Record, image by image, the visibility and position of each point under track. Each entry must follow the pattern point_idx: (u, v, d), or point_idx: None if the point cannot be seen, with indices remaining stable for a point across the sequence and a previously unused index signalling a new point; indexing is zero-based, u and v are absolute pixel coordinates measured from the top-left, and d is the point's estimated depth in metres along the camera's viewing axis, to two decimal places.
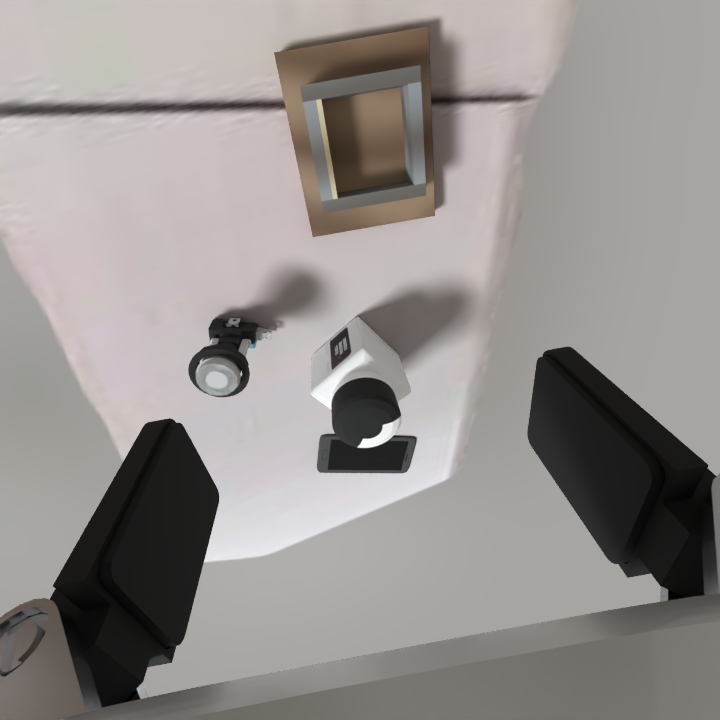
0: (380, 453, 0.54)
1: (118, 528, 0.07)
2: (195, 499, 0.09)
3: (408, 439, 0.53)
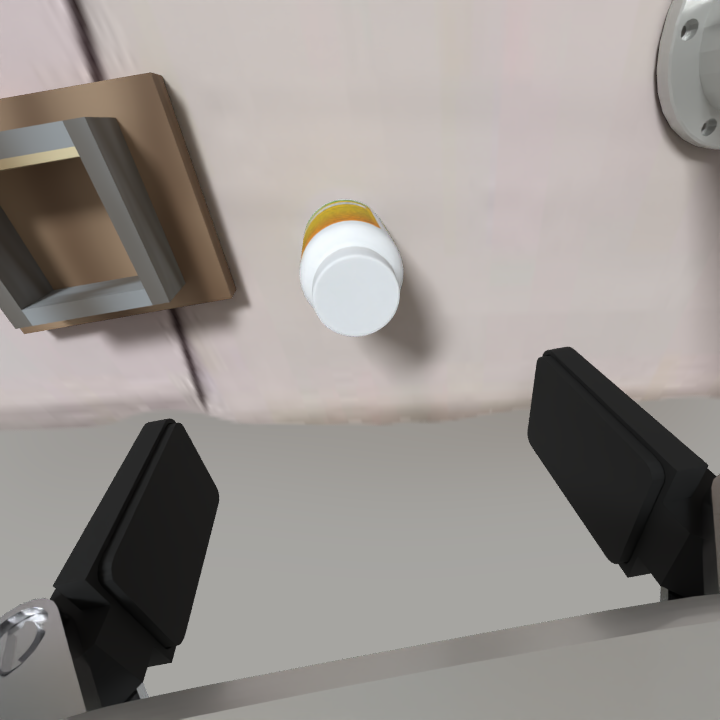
0: None
1: (118, 528, 0.07)
2: (195, 499, 0.09)
3: None
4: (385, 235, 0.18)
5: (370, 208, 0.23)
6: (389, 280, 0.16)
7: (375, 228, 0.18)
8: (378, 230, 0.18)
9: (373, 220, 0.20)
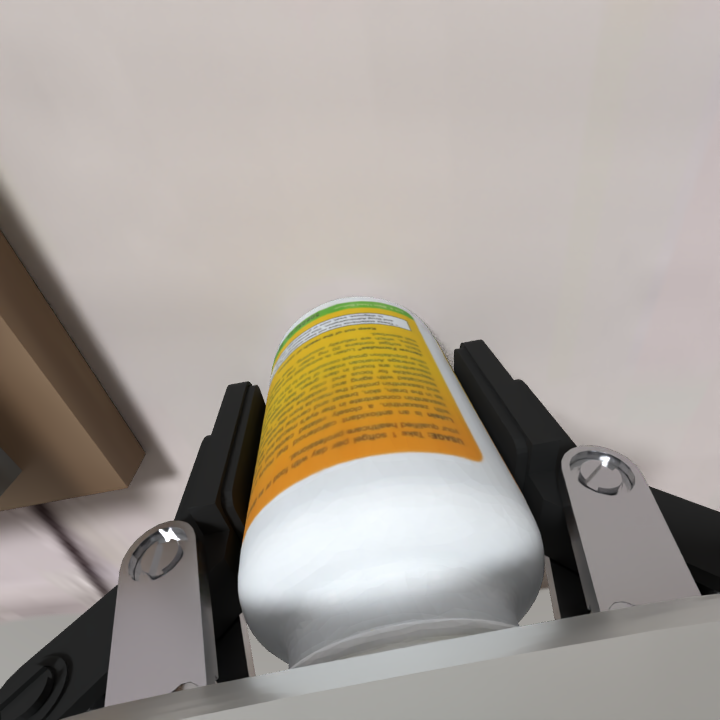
0: None
1: (229, 466, 0.07)
2: None
3: None
4: (507, 498, 0.06)
5: (413, 314, 0.11)
6: None
7: (478, 483, 0.05)
8: (487, 489, 0.05)
9: (447, 403, 0.07)
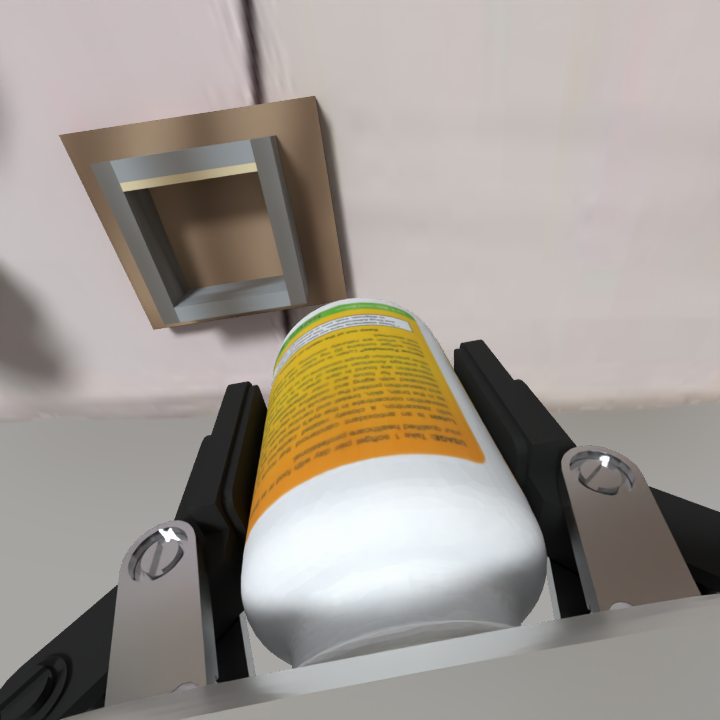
0: None
1: (229, 466, 0.07)
2: None
3: None
4: (510, 500, 0.06)
5: (415, 316, 0.11)
6: None
7: (481, 485, 0.05)
8: (490, 491, 0.05)
9: (450, 404, 0.07)
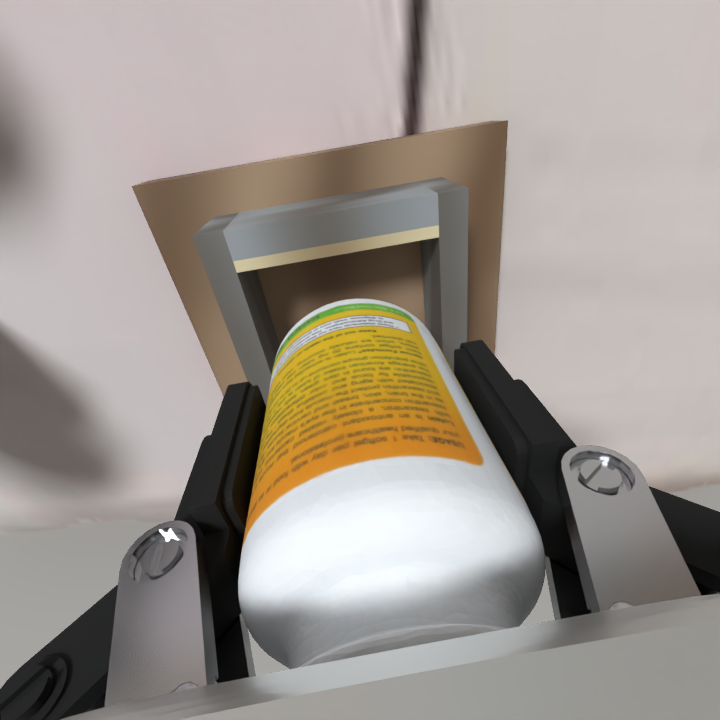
0: None
1: (229, 466, 0.07)
2: None
3: None
4: (508, 502, 0.06)
5: (413, 316, 0.11)
6: None
7: (478, 487, 0.05)
8: (488, 493, 0.05)
9: (448, 406, 0.07)
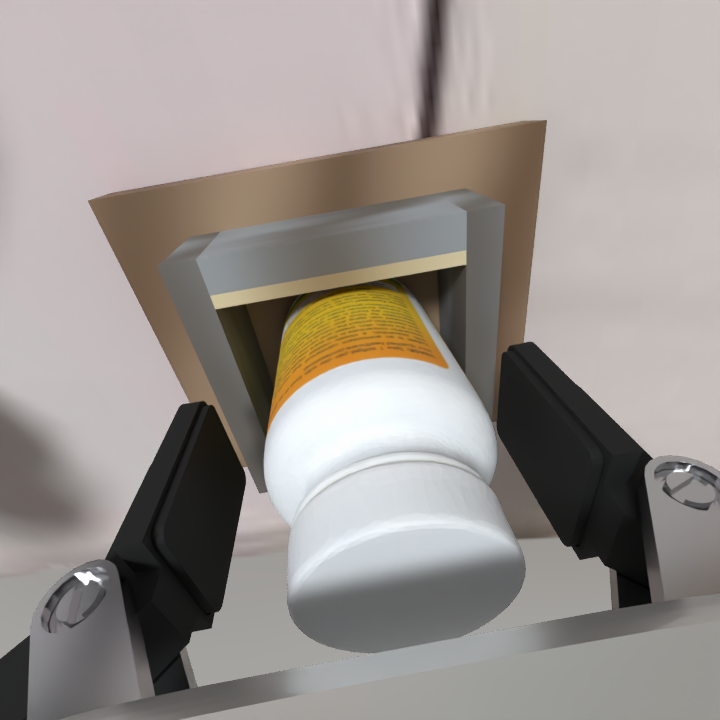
0: None
1: (166, 497, 0.07)
2: (227, 478, 0.10)
3: None
4: (465, 391, 0.08)
5: (402, 284, 0.13)
6: (504, 562, 0.06)
7: (442, 378, 0.07)
8: (449, 382, 0.07)
9: (424, 336, 0.09)
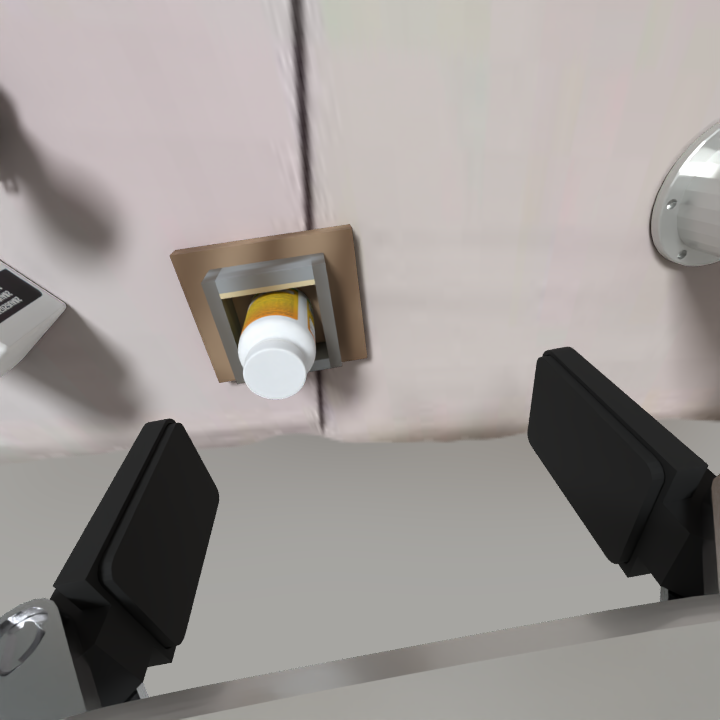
0: None
1: (118, 528, 0.07)
2: (195, 499, 0.09)
3: None
4: (299, 326, 0.25)
5: (299, 290, 0.31)
6: (297, 363, 0.23)
7: (292, 321, 0.25)
8: (294, 323, 0.25)
9: (294, 310, 0.27)
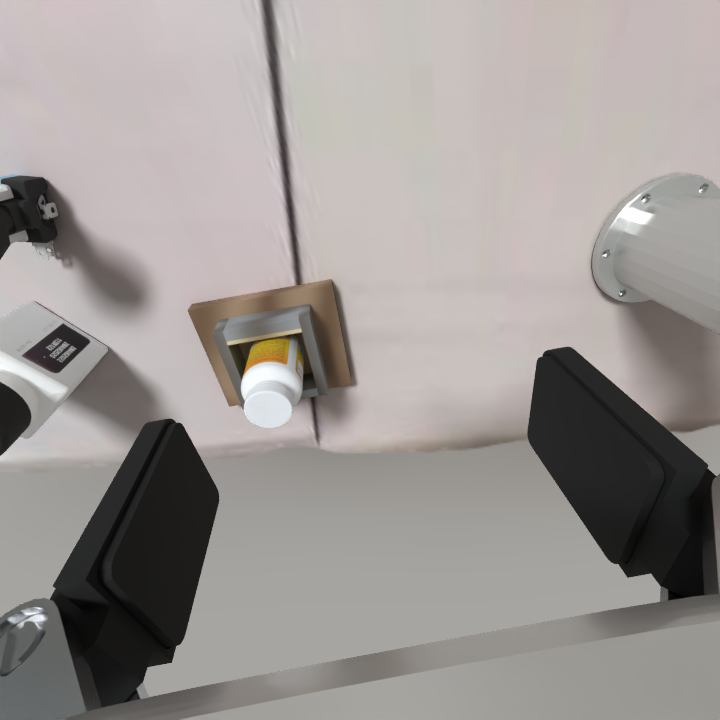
0: None
1: (118, 528, 0.07)
2: (195, 499, 0.09)
3: None
4: (288, 370, 0.32)
5: (291, 334, 0.38)
6: (285, 401, 0.30)
7: (282, 366, 0.32)
8: (283, 367, 0.32)
9: (285, 355, 0.34)
